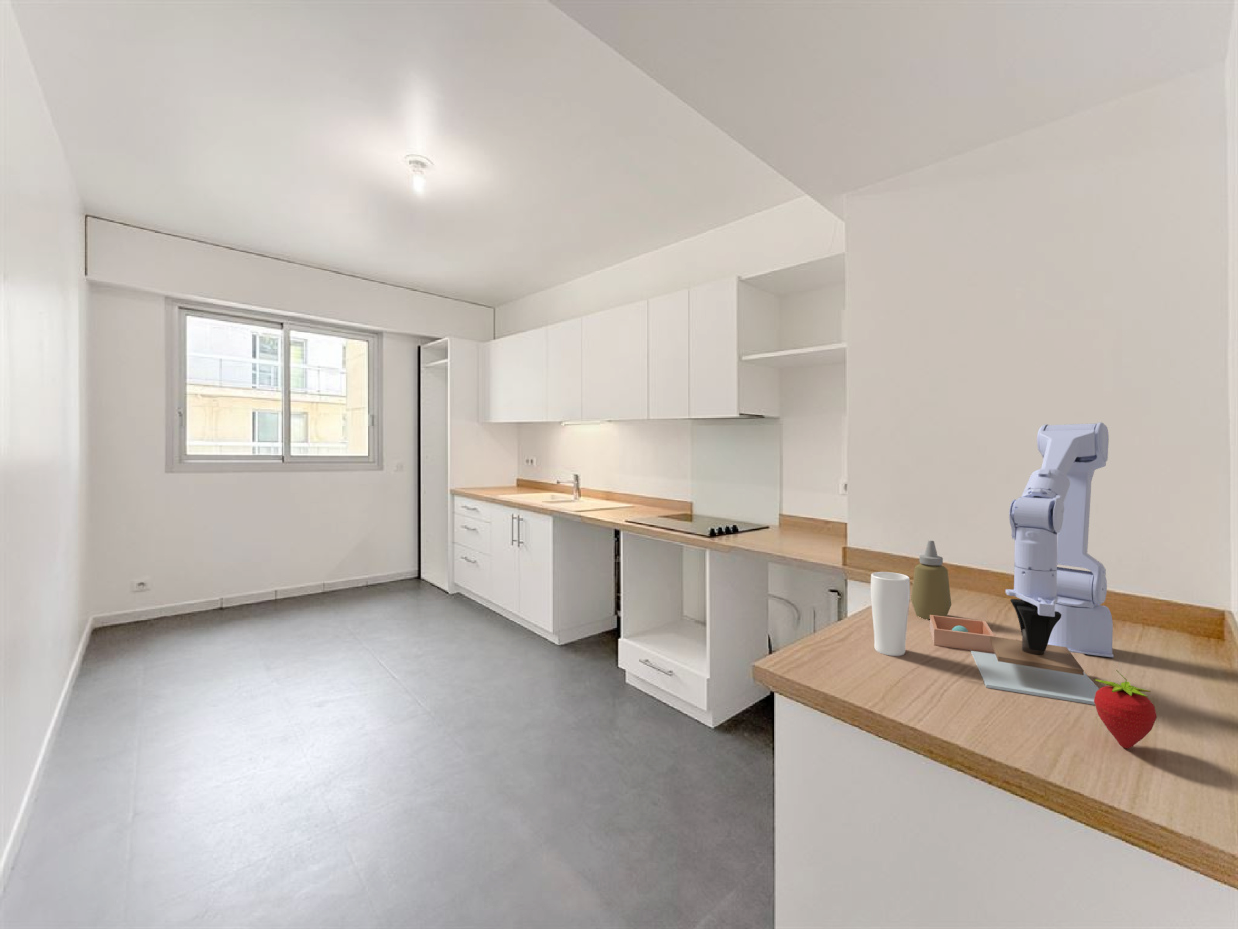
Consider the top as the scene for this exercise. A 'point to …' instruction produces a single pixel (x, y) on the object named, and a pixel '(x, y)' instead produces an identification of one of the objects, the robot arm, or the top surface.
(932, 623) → the shallow cardboard tray
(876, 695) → the top surface
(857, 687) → the top surface
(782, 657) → the top surface
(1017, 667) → the mat
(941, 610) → the squeeze bottle
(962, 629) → the ball
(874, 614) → the white cup
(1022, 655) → the lid
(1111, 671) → the top surface
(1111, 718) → the strawberry
